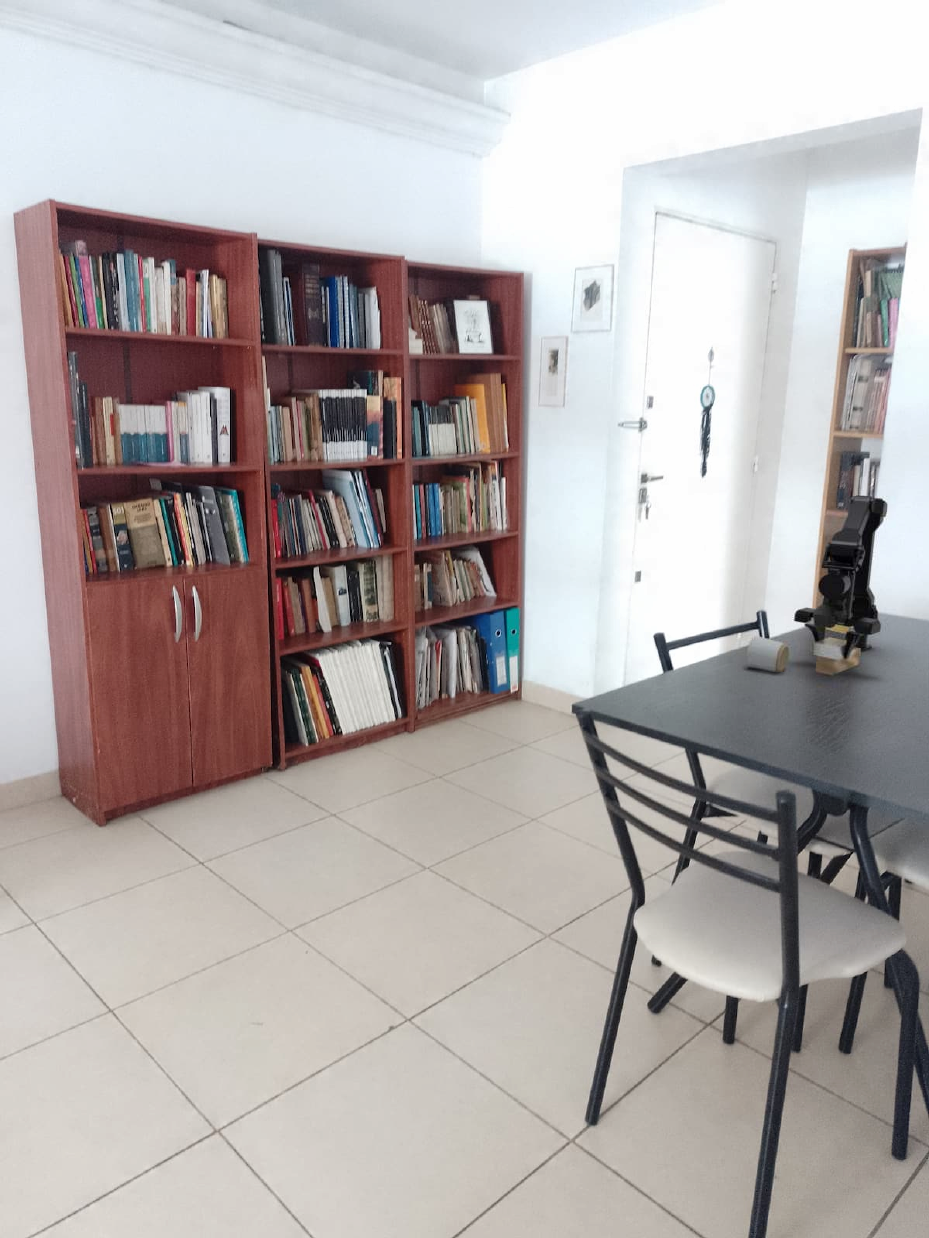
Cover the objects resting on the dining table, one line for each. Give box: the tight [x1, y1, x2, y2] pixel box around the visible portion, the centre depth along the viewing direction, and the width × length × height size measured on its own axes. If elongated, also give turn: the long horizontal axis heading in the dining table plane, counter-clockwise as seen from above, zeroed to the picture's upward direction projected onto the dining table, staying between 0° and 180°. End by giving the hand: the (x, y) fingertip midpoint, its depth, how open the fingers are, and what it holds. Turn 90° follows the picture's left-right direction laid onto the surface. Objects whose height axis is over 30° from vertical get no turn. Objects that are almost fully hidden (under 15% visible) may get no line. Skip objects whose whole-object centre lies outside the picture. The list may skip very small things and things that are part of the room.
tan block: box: [815, 647, 862, 676], centre depth 221 cm, size 15×4×7 cm, turn 134°
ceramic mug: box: [745, 635, 790, 673], centre depth 220 cm, size 11×8×8 cm
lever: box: [825, 624, 851, 634], centre depth 229 cm, size 13×3×2 cm, turn 34°
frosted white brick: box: [812, 636, 853, 660], centre depth 219 cm, size 8×6×3 cm
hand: (832, 655), depth 219 cm, fingers open, 6 cm apart
